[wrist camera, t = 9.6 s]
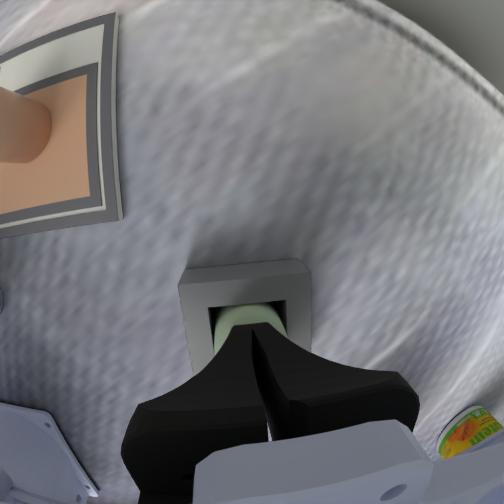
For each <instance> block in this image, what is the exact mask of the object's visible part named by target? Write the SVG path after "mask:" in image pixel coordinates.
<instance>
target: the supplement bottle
mask: <svg viewBox="0 0 504 504" xmlns="http://www.w3.org/2000/svg"><path fill="white" fill-rule="evenodd" d="M502 428H504V427H503V426H502V425H501V424H500V423H499V422H498V421H497V420H496V419H495V418H494V417H493V416H492V415H491V414H490V413H489V412H488V411H487V410H486V409H484V408H483V407H482V406H479V405H476V406H472V407H470V408H468V409H466V410H464V411H463V412H462V413H460V414H459V415H458V416H457V417H455V418H454V419H453V420H452V421H451V422H450V423H449V424H448V425H447V427H446V428H445V429H444V430H443V432H442V433H441V435H440V437H439V439H438V441H437V450H438V452H439V454H440V455H441V457H442V458H443V459H447V458H451V457H453V456H455V455H457V454H459V453H461V452H463V451H465V450H466V449H468V448H470V447H472V446H474V445H475V444H477V443H479V442H481V441H482V440H484V439H486V438H488V437H489V436H491V435H492V434H494V433H496V432H497V431H499V430H500V429H502Z"/></svg>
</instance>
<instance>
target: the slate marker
mask: <svg viewBox="0 0 504 504" xmlns="http://www.w3.org/2000/svg"><path fill="white" fill-rule="evenodd" d="M2 309H3V295H2V291H1V288H0V314H1V312H2Z"/></svg>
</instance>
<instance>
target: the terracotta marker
mask: <svg viewBox="0 0 504 504" xmlns="http://www.w3.org/2000/svg"><path fill="white" fill-rule="evenodd" d="M51 125H52V122H51V115H50V112H49V110H48V108H47V107H46V106H45V105H44V104H42V103H40V102H38V101H35V100H33V99H31V98H28V97H26V96H23V95H21V94H18V93H16V92H13V91H11V90H8V89H6V88H3V87H0V162H5V163H20V164H25V163H29V162H31V161H33V160H34V159H36V158H37V157H38V156H39V155H40V154H41V152H42V151H43V150H44V148H45V146H46V144H47V142H48V140H49V137H50V133H51Z"/></svg>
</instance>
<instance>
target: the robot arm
mask: <svg viewBox="0 0 504 504" xmlns="http://www.w3.org/2000/svg"><path fill="white" fill-rule="evenodd" d="M419 408H420V402H419V397H418V395H417V394H416V393H415V391H414V390H413V389H412V388H411V386H410V385H409V384H408V383H407V381H406V380H405V379H404V378H403V377H402V376H401V375H400V374H399V373H398V372H393V371H377V370H367V369H361V368H355V367H351V366H346V365H342V364H339V363H336V362H333V361H329V360H327V359H324V358H322V357H319V356H317V355H315V354H313V353H311V352H309V351H307V350H305V349H303V348H301V347H300V346H298V345H297V344H295V343H293V342H292V341H290V340H289V339H288V338H286V337H285V336H284V335H282V334H281V333H280V332H279V331H278V330H276V329H275V328H274V327H273V326H272V325H271V324H270V323H268V322H261V323H253V324H243V325H234V326H233V327H232V328H231V330H230V333H229V335H228V336H227V338H226V340H225V342H224V343H223V345H222V346H221V348H220V350H219V351H218V352H217V353H216V355H215V356H214V357H213V359H212V360H211V361H210V362H209V363H208V364H207V366H206V367H205V368H204V369H202V370H201V371H200V372H199V373H198V374H196V375H195V376H194V377H192V378H191V379H190V380H188V381H187V382H186V383H184V384H183V385H181V386H179V387H177V388H176V389H174V390H172V391H170V392H168V393H166V394H164V395H162V396H159V397H157V398H154V399H152V400H149V401H146V402H144V403H141V404H138V406H137V408H136V410H135V412H134V414H133V416H132V418H131V420H130V422H129V424H128V427H127V430H126V433H125V436H124V439H123V442H122V446H121V456H122V459H123V462H124V464H125V466H126V468H127V470H128V471H129V473H130V475H131V477H132V478H133V480H134V482H135V483H136V485H137V487H138V488H139V490H140V496H139V501H138V504H504V428H502V429H500V430H499V431H497V432H496V433H494V434H492V435H491V436H489V437H488V438H486V439H484V440H482V441H481V442H479V443H477V444H475V445H474V446H472V447H470V448H468V449H466V450H465V451H463V452H461V453H459V454H457V455H455V456H453V457H451V458H447V459H442V460H438V461H433V462H432V461H431V459H430V458H429V456H428V455H427V454H426V452H425V451H424V449H423V448H422V446H421V445H420V444H419V442H418V441H417V439H416V438H415V436H414V435H413V434H412V432H413V429H414V426H415V423H416V420H417V417H418V414H419ZM267 423H268V426H269V429H270V433H271V437H272V441H271V442H268V427H267ZM88 495H89V496H94V497H97V496H98V495H99V491H98V490H97V489H96V487H95V486H94V485H93V483H92V482H91V480H90V479H89V477H88V476H87V475H86V473H85V472H84V470H83V469H82V467H81V466H80V464H79V462H78V461H77V459H76V458H75V456H74V454H73V453H72V451H71V450H70V448H69V446H68V445H67V443H66V441H65V439H64V438H63V436H62V434H61V432H60V431H59V429H58V427H57V425H56V423H55V421H54V419H53V418H52V416H51V415H50V414H49V413H48V412H46V411H41V410H35V409H30V408H24V407H19V406H14V405H10V404H5V403H1V402H0V504H86V501H87V498H88Z"/></svg>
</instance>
